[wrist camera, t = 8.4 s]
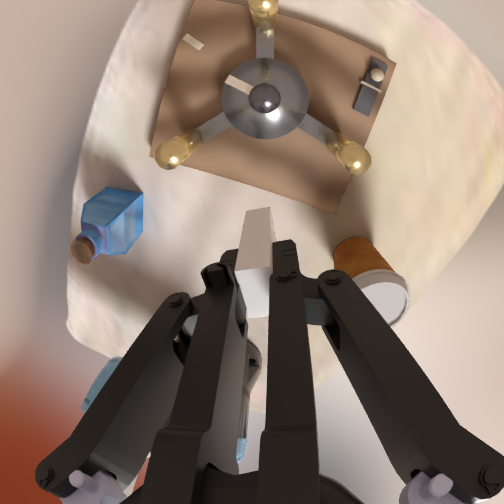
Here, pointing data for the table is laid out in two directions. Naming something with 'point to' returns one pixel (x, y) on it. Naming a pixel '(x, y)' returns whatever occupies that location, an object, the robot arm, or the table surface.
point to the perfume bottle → (109, 224)
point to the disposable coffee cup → (374, 278)
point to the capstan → (264, 104)
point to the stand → (297, 141)
